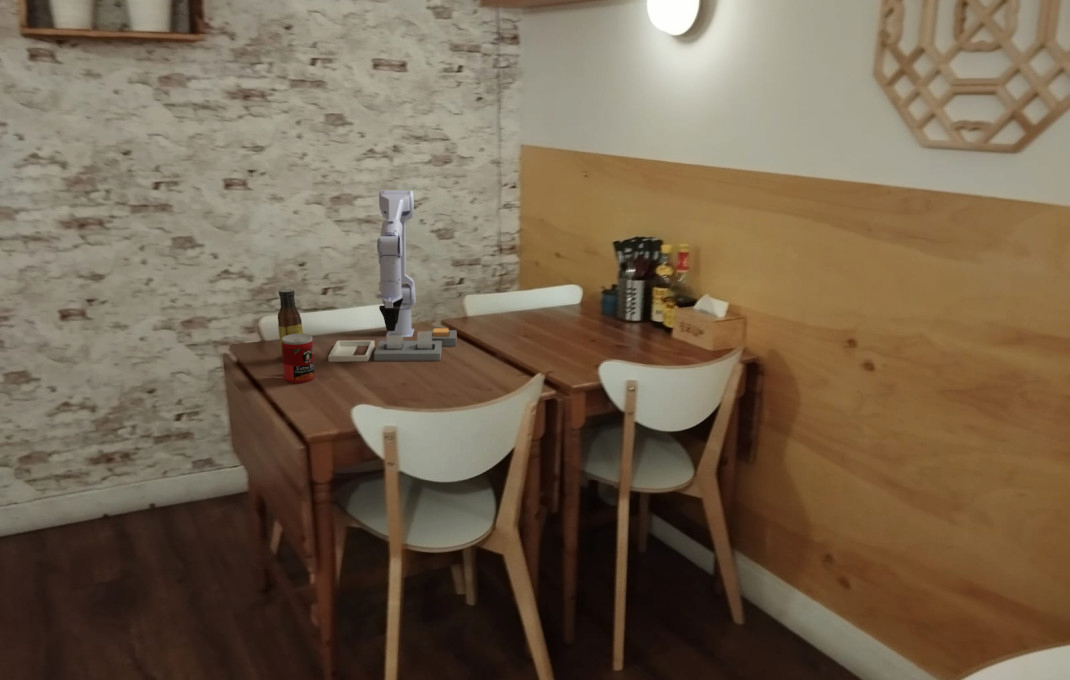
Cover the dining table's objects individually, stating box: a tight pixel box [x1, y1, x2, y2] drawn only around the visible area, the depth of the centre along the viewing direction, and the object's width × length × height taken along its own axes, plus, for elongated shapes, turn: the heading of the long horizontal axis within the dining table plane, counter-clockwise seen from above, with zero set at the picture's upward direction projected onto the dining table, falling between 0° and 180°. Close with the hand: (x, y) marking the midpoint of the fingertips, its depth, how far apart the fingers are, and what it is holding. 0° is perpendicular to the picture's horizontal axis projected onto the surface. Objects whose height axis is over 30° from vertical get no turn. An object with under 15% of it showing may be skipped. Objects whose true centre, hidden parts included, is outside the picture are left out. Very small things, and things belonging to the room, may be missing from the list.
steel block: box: [386, 331, 404, 350], centre depth 234 cm, size 4×4×6 cm
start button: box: [432, 327, 450, 337], centre depth 247 cm, size 4×4×3 cm
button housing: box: [426, 329, 458, 347], centre depth 248 cm, size 9×9×3 cm
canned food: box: [281, 333, 316, 384], centre depth 213 cm, size 8×8×11 cm
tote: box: [327, 340, 375, 363], centre depth 235 cm, size 16×11×2 cm
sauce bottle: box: [277, 288, 304, 360], centre depth 227 cm, size 6×6×20 cm
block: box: [416, 330, 433, 350], centre depth 235 cm, size 4×4×6 cm
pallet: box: [373, 340, 443, 362], centre depth 235 cm, size 13×18×3 cm
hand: (392, 327), depth 233 cm, fingers open, 7 cm apart
